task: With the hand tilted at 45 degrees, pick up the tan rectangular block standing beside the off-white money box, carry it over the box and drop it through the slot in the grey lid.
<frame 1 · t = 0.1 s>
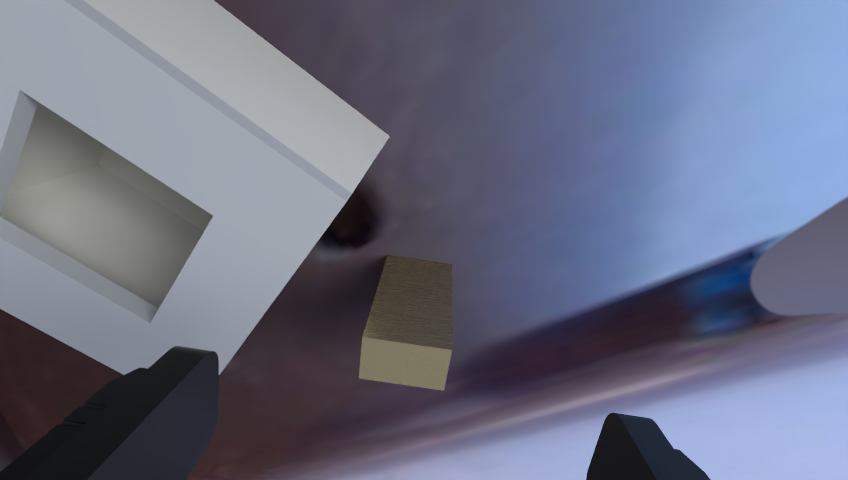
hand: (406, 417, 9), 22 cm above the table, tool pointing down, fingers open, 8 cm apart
money box: (235, 150, 30), on the table
tan rectangular block: (417, 276, 33), on the table
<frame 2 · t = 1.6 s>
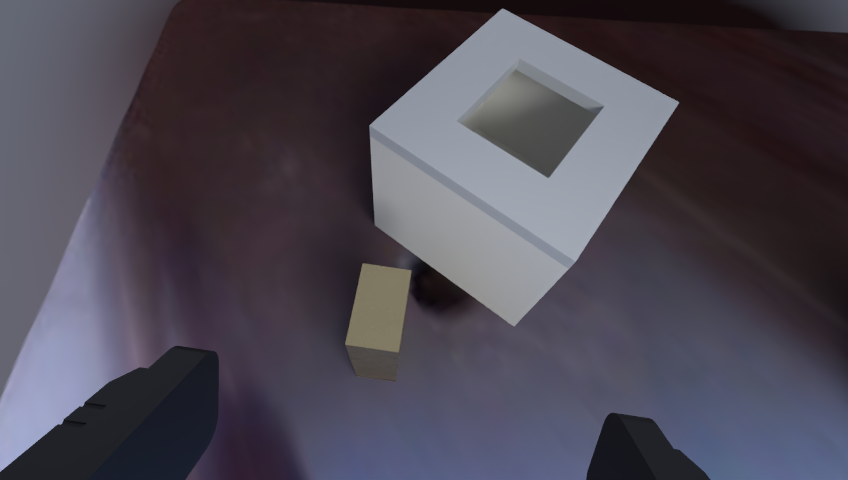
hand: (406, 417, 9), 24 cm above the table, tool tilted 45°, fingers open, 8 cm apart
money box: (491, 212, 40), on the table
tan rectangular block: (381, 346, 34), on the table
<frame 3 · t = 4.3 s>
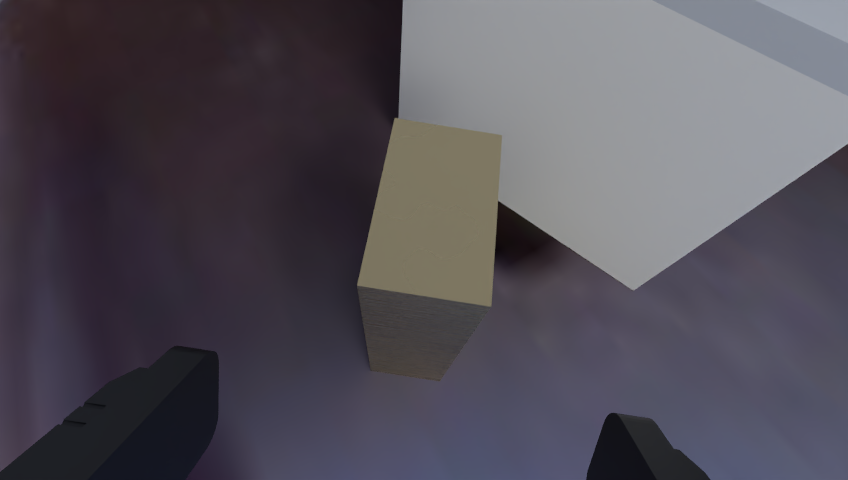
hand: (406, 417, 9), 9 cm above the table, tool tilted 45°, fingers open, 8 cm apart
money box: (576, 121, 26), on the table
tan rectangular block: (413, 319, 19), on the table
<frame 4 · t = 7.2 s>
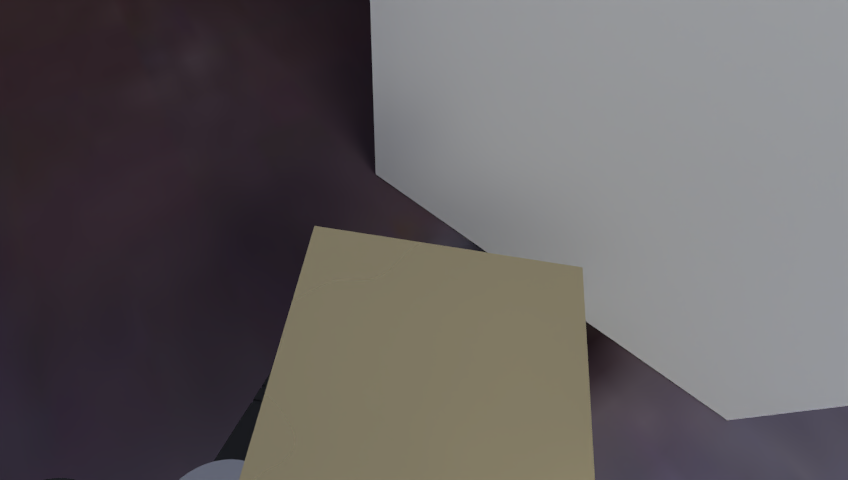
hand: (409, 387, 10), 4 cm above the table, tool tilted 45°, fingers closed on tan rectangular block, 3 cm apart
money box: (622, 153, 19), on the table
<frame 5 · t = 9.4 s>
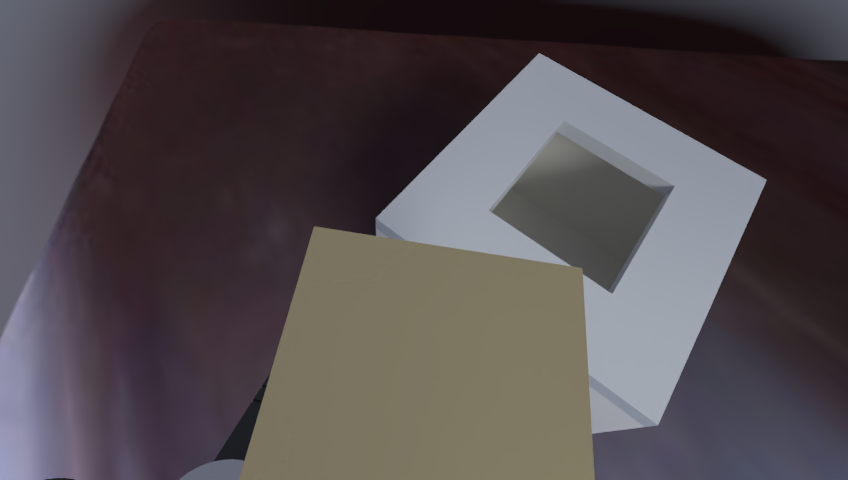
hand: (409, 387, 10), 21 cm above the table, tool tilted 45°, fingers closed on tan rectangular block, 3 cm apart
money box: (516, 287, 34), on the table
when the fingers open (19 cm above the table, at t = 11.8 s): tan rectangular block drops 14 cm, resting on money box.
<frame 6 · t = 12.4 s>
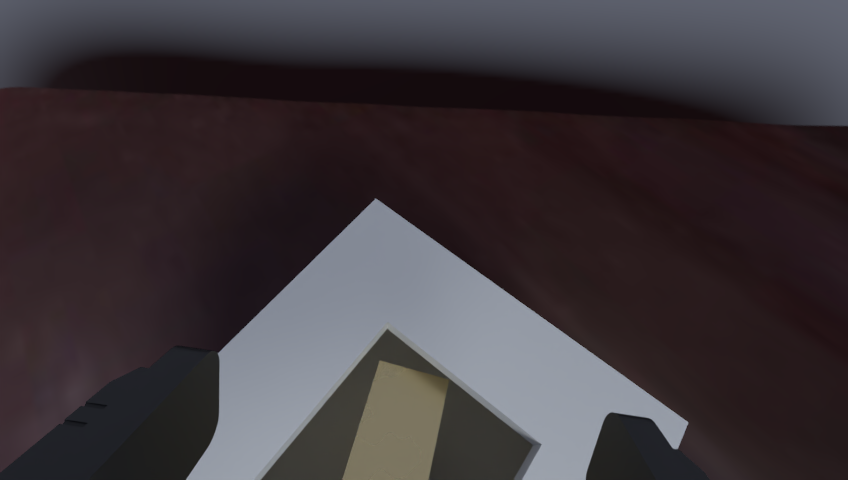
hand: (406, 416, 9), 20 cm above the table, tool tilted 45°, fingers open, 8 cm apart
money box: (388, 470, 25), on the table
tan rectangular block: (387, 469, 24), point 1 cm above the table, tilted 8°, touching money box
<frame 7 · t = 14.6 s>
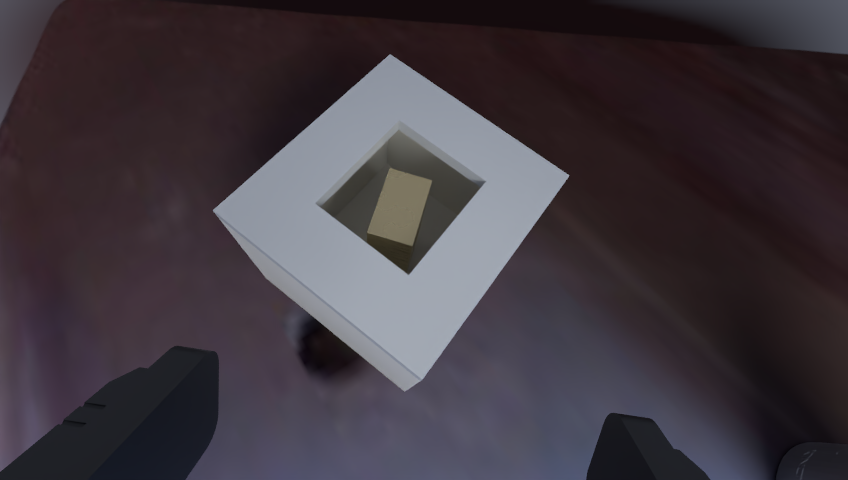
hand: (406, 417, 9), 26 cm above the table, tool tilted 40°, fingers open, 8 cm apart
money box: (393, 261, 38), on the table
tan rectangular block: (393, 257, 37), point 1 cm above the table, touching money box
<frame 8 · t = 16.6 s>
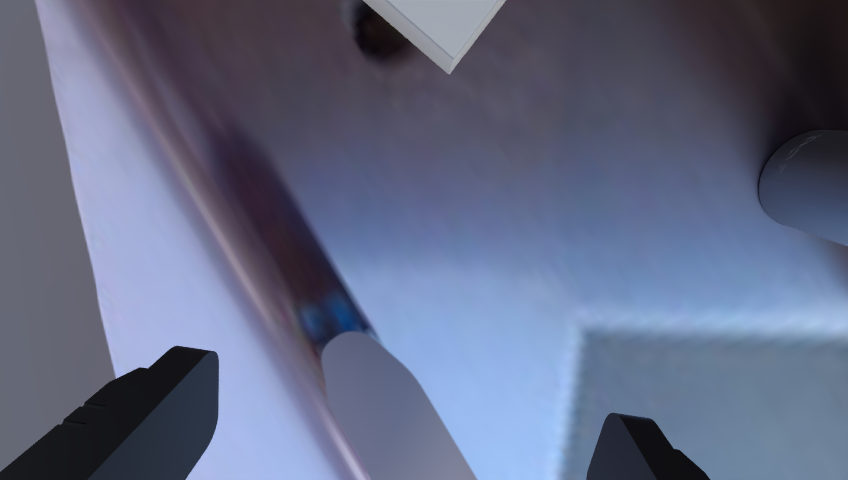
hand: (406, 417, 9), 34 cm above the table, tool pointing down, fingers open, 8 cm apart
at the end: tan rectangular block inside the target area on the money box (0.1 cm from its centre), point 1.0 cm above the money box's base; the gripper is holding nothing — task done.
